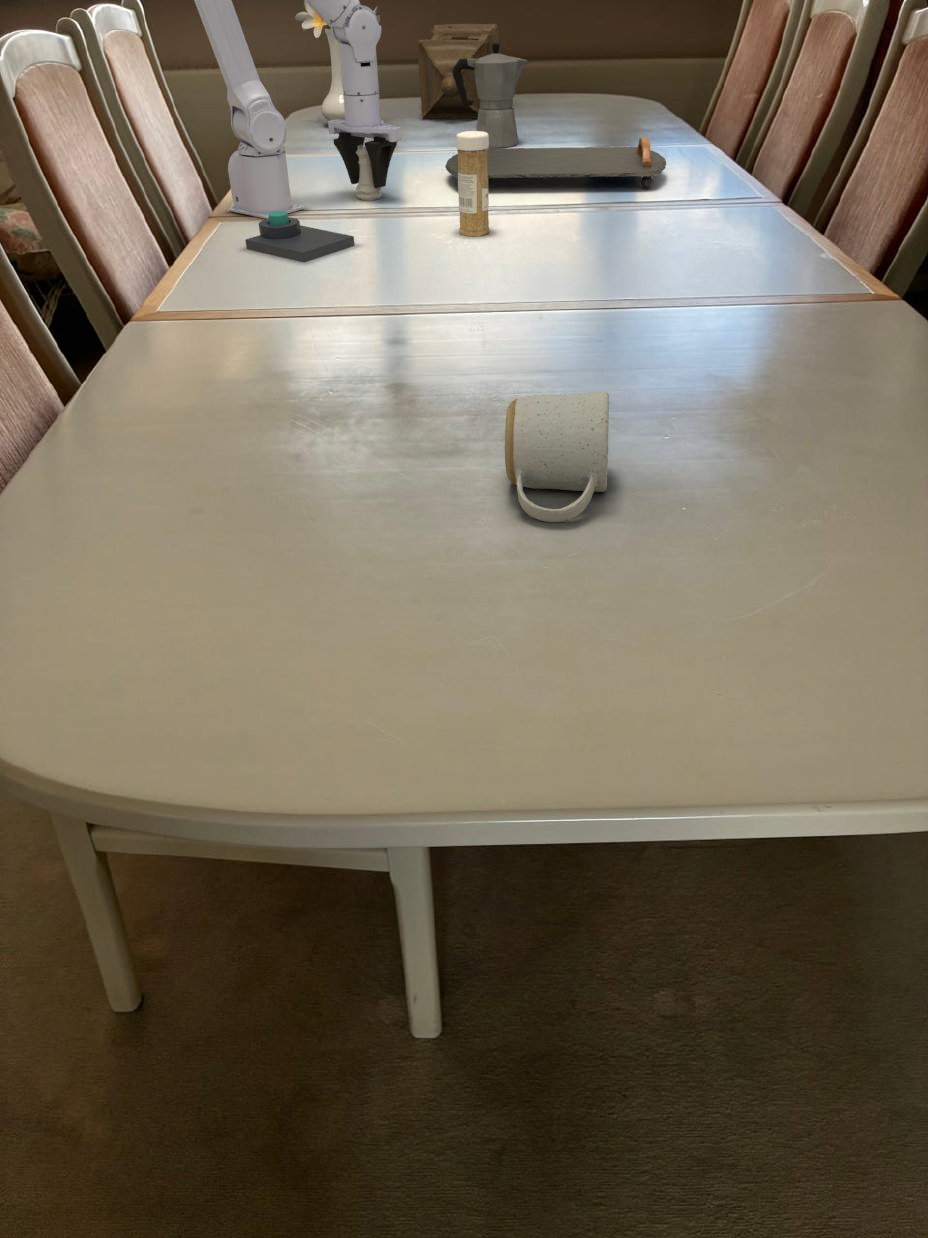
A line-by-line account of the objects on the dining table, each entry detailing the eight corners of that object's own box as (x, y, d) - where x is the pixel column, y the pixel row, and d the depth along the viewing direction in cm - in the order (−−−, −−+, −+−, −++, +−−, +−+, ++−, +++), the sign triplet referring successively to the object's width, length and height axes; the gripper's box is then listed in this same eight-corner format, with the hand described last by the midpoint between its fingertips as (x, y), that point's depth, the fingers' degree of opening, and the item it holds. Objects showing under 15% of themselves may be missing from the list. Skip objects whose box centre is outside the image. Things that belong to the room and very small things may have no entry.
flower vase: (384, 128, 215) (375, -4, 200) (302, 131, 215) (288, -2, 201) (388, 119, 226) (380, -8, 211) (310, 121, 226) (297, -6, 211)
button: (265, 225, 138) (264, 213, 137) (280, 221, 140) (278, 209, 139) (278, 228, 137) (277, 216, 136) (293, 223, 138) (291, 212, 138)
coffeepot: (521, 137, 202) (522, 38, 192) (533, 145, 195) (535, 42, 184) (449, 142, 200) (446, 42, 189) (459, 151, 192) (456, 47, 182)
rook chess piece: (386, 195, 163) (383, 143, 158) (376, 201, 160) (372, 148, 155) (362, 193, 164) (358, 142, 159) (351, 199, 161) (347, 147, 156)
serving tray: (440, 193, 163) (439, 153, 159) (451, 165, 181) (450, 129, 178) (671, 191, 160) (675, 150, 156) (658, 162, 178) (661, 125, 175)
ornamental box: (481, 138, 217) (491, 44, 205) (404, 127, 217) (410, 33, 206) (497, 108, 244) (506, 24, 233) (428, 99, 245) (434, 14, 233)
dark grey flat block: (242, 248, 138) (239, 226, 136) (293, 233, 144) (291, 211, 143) (304, 262, 132) (301, 240, 130) (354, 246, 138) (352, 224, 136)
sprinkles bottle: (495, 233, 141) (495, 132, 133) (469, 238, 139) (467, 136, 131) (478, 227, 144) (476, 128, 136) (452, 232, 142) (449, 132, 134)
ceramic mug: (510, 460, 82) (510, 375, 77) (607, 463, 81) (613, 377, 76) (499, 525, 74) (499, 434, 69) (607, 529, 73) (613, 437, 68)
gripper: (411, 92, 151) (416, 185, 159) (346, 86, 159) (354, 175, 167) (381, 98, 147) (387, 193, 155) (315, 92, 155) (324, 182, 163)
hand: (368, 184), depth 161 cm, fingers open, 5 cm apart
